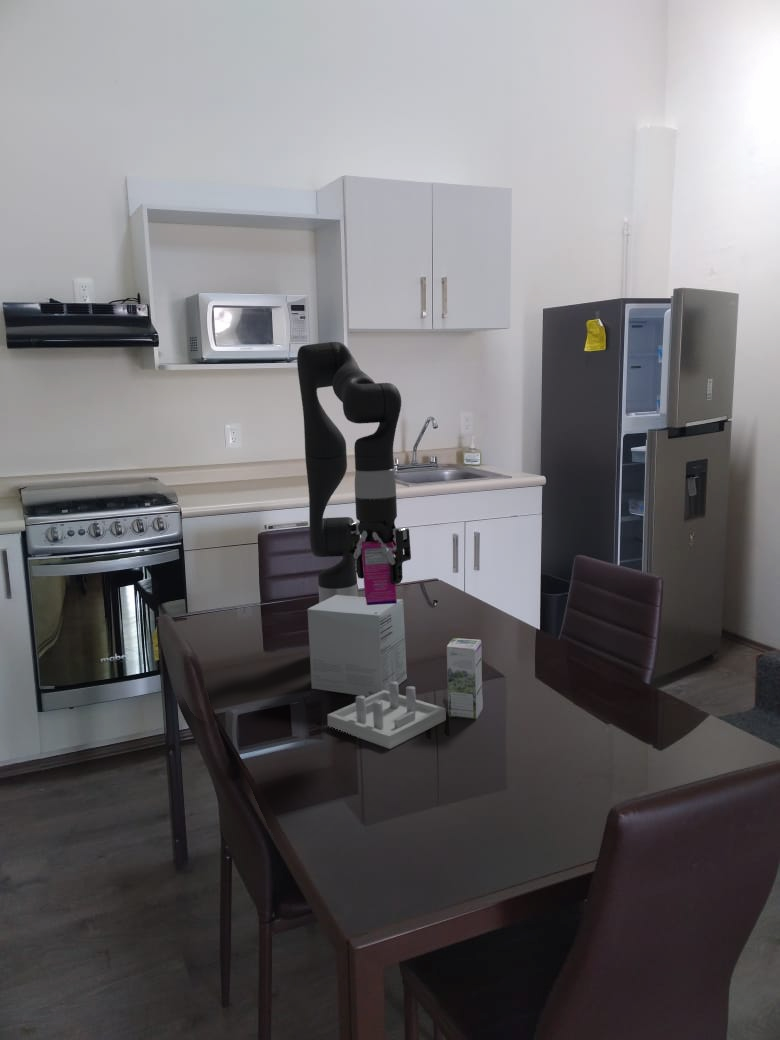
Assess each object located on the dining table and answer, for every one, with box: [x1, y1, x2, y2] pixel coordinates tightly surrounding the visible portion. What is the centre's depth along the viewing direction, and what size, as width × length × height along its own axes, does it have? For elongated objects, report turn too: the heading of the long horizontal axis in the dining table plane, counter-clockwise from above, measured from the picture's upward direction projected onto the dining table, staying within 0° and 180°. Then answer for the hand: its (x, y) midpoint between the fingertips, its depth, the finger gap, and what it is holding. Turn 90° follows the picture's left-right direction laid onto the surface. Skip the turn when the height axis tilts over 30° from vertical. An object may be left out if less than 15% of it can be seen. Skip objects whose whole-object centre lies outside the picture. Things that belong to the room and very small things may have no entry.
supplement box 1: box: [306, 595, 408, 698], centre depth 180 cm, size 17×13×18 cm
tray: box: [326, 681, 447, 749], centre depth 159 cm, size 16×16×6 cm
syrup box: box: [446, 637, 484, 720], centre depth 162 cm, size 6×6×14 cm
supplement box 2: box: [362, 541, 398, 605], centre depth 155 cm, size 6×6×12 cm
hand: (379, 580), depth 155 cm, fingers closed on supplement box 2, 8 cm apart
